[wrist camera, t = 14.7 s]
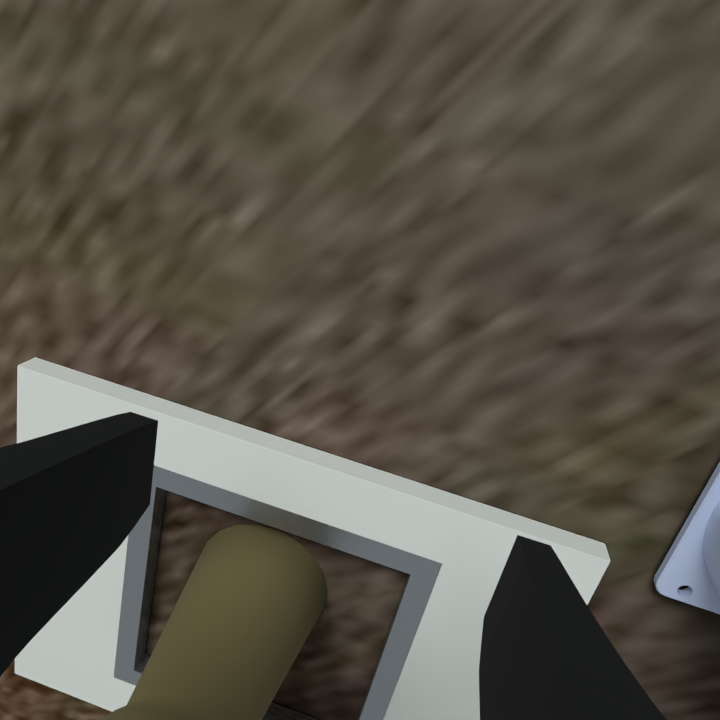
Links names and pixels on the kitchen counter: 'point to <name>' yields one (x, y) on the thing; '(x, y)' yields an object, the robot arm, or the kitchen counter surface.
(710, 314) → the kitchen counter surface
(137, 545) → the white picture frame
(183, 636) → the cork
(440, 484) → the kitchen counter surface
